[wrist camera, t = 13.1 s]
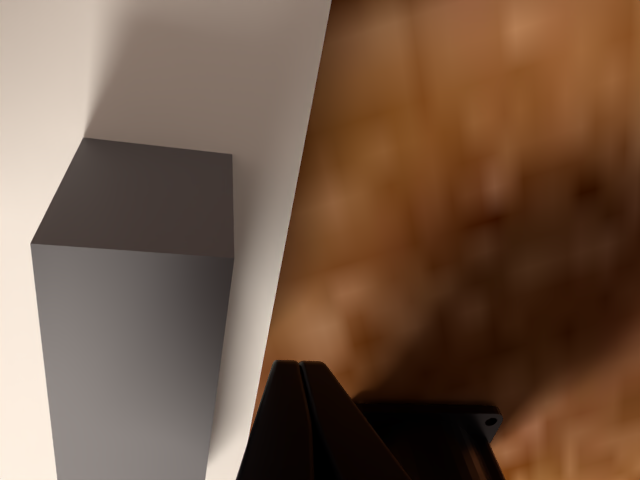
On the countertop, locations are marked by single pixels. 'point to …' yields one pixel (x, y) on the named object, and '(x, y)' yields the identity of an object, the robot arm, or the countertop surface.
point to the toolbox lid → (144, 227)
